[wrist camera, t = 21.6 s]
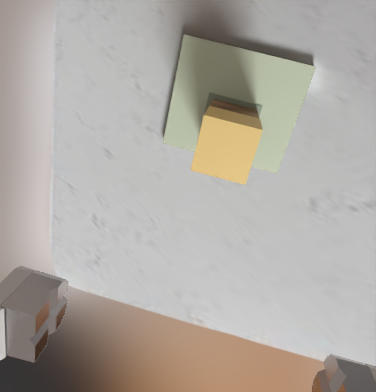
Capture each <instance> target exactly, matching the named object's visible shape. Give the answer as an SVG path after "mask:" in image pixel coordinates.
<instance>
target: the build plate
mask: <svg viewBox="0 0 376 392" xmlns="http://www.w3.org/2000/svg"><path fill="white" fill-rule="evenodd" d="M315 69H316V67H315V66H311V65H307V64H303V63H299V62H295V61H291V60H287V59H283V58H279V57H275V56H271V55H267V54H262V53H258V52H254V51H250V50H246V49H242V48H238V47H234V46H230V45H226V44H222V43H218V42H214V41H210V40H205V39H201V38H197V37H193V36H189V35H185V34H184V36H183V41H182V46H181V51H180V57H179V62H178V67H177V72H176V77H175V82H174V88H173V93H172V98H171V103H170V108H169V114H168V119H167V124H166V129H165V134H164V140H163V144H166V145H170V146H174V147H178V148H182V149H186V150H189V151H193V152H195V150H196V146H197V142H198V137H199V133H200V129H201V125H202V121H203V116H204V114H205V112H206V110H207V109H208V107H209V105H210V103H211V101H212V100H213V99H216V100H220V101H224V102H228V103H232V104H236V105H240V106H244V107H248V108H252V109H256V110H257V111H258V115H259V118H260V121H261V125H262V128H263V131H262V134H261V138H260V141H259V144H258V147H257V150H256V153H255V156H254V159H253V162H252V165H251V167H254V168H258V169H262V170H266V171H270V172H273V173H277V172H278V169H279V167H280V164H281V161H282V159H283V156H284V153H285V150H286V148H287V145H288V142H289V139H290V137H291V134H292V131H293V129H294V126H295V123H296V120H297V118H298V115H299V112H300V110H301V107H302V104H303V101H304V99H305V96H306V93H307V90H308V88H309V85H310V82H311V80H312V77H313V74H314V71H315Z"/></svg>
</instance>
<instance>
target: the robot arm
mask: <svg viewBox="0 0 376 392" xmlns="http://www.w3.org/2000/svg"><path fill="white" fill-rule="evenodd" d="M67 290H68V281H67V280H66V279H62V278H59V277H56V276H53V275H49V274H46V273H43V272H40V271H35V270H32V269H29V268H26V267H23V266H20V267H18V268H16V269H15V270H13V271H12V272H11V273H10V274H9V275H8V276H7V277H6V278H5V279H4V280H3V281H2V282H1V283H0V360H2V359H3V358H5V357H6V355H8V356H12V357H16V358H19V359H23V360H27V361H31V362H35V361H36V360H37V358H38V357H39V355H40V354H41V352H42V351H43V349H44V348H45V346H46V345H47V343H48V335H49V334H51V333H53V332H55V331H56V330H57V328H58V327H59V325H60V324H61V321H62V319H63V317H64V314H65V311H66V306H67V300H66V298H65V297H64V294H65V293H66V292H67ZM324 366H325V369H324V370H322V371H319V372H318V373H317V375H316V376H315V378H314V381H313V386H312V392H376V366H372V365H368V364H363V363H361V362H357V361H354V360H350V359H346V358H343V357H339V356H335V355H332V354H331V355H329V356H327V358H326V359H325V361H324Z"/></svg>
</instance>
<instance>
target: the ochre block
mask: <svg viewBox="0 0 376 392" xmlns="http://www.w3.org/2000/svg"><path fill="white" fill-rule="evenodd" d="M262 131H263V128H262V125H261V121H260V118H256V117H252V116H248V115H244V114H240V113H236V112H232V111H228V110H224V109H220V108H216V107H212V106H209V107H208V109H207V110H206V112H205V114H204V116H203V121H202V125H201V129H200V133H199V137H198V142H197V146H196V150H195V154H194V158H193V162H192V167H191V170H192V171H195V172H199V173H203V174H207V175H211V176H214V177H218V178H222V179H226V180H230V181H233V182H237V183H241V184H246V181H247V178H248V175H249V171H250V168H251V165H252V162H253V159H254V156H255V153H256V150H257V147H258V144H259V141H260V138H261V134H262Z"/></svg>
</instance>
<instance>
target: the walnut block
mask: <svg viewBox="0 0 376 392" xmlns="http://www.w3.org/2000/svg"><path fill="white" fill-rule="evenodd" d="M209 106H212V107H216V108H220V109H224V110H228V111H232V112H236V113H240V114H244V115H248V116H252V117H256V118H259V115H258V111H257V110H256V109H252V108H248V107H244V106H240V105H236V104H232V103H228V102H224V101H220V100H216V99H213V100H212V101H211V103H210V105H209Z"/></svg>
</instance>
